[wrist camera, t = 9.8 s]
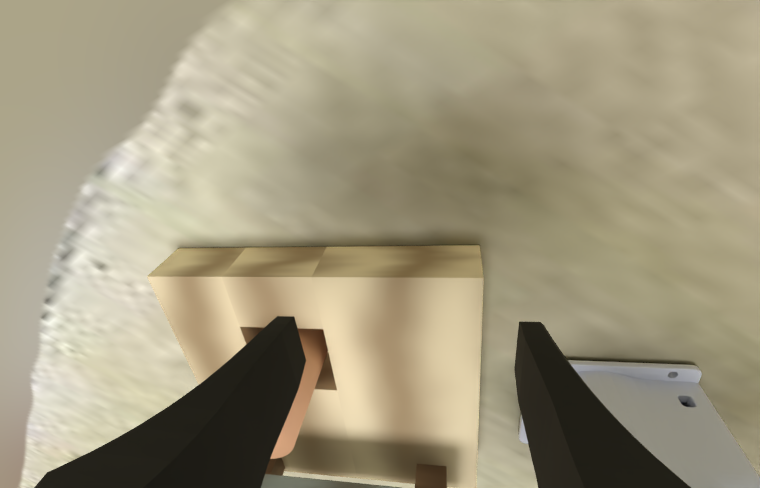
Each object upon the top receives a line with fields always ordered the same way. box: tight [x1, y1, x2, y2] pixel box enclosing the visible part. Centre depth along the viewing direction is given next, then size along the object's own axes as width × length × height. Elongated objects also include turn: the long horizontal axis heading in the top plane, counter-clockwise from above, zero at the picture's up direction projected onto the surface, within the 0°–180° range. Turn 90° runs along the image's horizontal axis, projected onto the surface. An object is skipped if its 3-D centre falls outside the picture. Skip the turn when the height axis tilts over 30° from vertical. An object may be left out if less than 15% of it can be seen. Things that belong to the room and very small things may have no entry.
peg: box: [270, 328, 328, 459], centre depth 23 cm, size 4×4×8 cm
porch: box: [147, 245, 484, 488], centre depth 24 cm, size 18×18×7 cm
